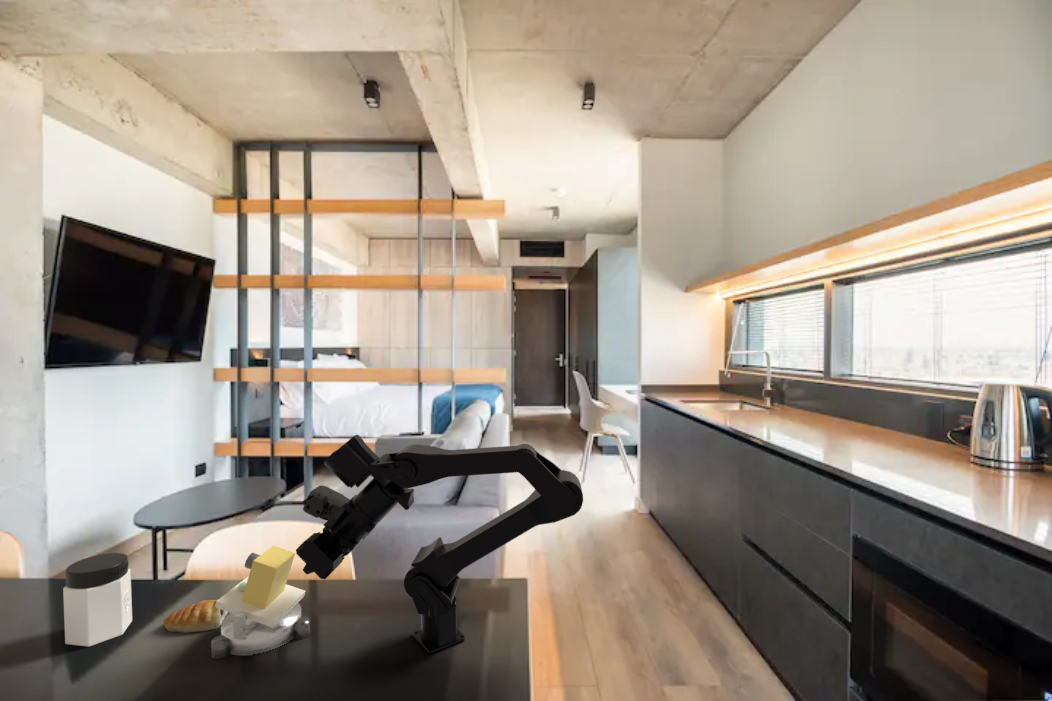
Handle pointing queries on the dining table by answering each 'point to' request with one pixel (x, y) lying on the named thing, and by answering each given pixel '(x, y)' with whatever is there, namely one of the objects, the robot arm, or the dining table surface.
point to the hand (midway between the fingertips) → (305, 571)
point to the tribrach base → (257, 634)
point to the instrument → (264, 588)
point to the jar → (97, 599)
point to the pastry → (196, 617)
